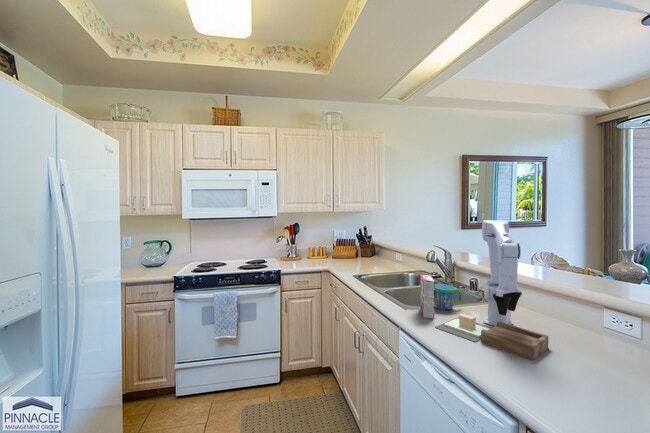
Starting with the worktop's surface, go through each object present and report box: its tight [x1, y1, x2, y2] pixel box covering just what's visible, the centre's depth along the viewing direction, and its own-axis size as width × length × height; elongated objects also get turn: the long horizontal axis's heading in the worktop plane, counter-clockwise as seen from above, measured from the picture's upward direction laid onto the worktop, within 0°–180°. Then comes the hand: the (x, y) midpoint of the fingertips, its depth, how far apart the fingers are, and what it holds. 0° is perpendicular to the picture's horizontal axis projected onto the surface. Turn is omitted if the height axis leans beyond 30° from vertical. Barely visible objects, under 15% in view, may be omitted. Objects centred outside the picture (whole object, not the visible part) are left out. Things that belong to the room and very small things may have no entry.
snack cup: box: [434, 283, 463, 311], centre depth 143 cm, size 16×10×10 cm
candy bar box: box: [419, 274, 436, 319], centre depth 134 cm, size 11×5×16 cm, turn 168°
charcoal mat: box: [434, 316, 493, 343], centre depth 118 cm, size 18×16×1 cm
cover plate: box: [444, 313, 489, 338], centre depth 118 cm, size 10×14×5 cm
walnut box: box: [480, 321, 549, 361], centre depth 105 cm, size 14×16×4 cm
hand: (506, 312), depth 110 cm, fingers open, 7 cm apart
